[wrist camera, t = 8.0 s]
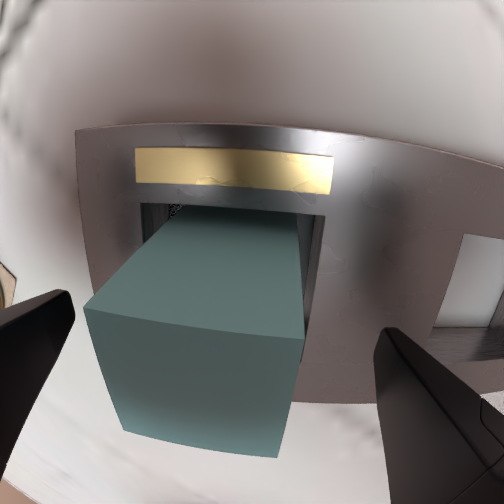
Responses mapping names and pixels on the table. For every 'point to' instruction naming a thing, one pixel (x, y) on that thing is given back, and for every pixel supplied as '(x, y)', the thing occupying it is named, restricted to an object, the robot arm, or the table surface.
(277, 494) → the table surface
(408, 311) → the square-hole rail
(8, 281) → the condiment
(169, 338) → the teal block
